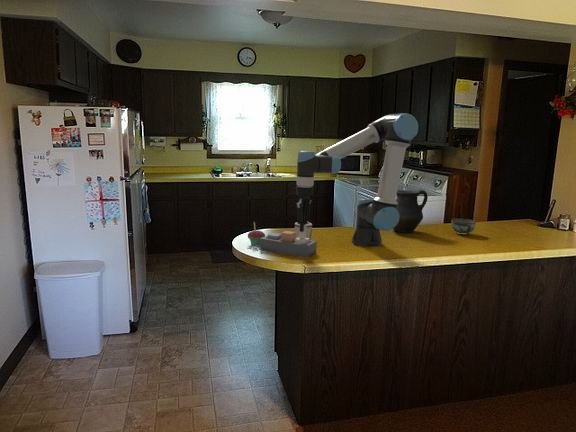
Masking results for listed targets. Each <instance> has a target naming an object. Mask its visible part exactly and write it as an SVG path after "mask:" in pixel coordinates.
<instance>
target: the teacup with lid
mask: <svg viewBox="0 0 576 432" xmlns="http://www.w3.org/2000/svg"><path fill="white" fill-rule="evenodd" d="M299 226H300V224H297V222H295V223H294V232H296V238H298V237H299ZM312 233H313V223H311V222H309V224H306V238H310V240H312Z"/></svg>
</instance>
